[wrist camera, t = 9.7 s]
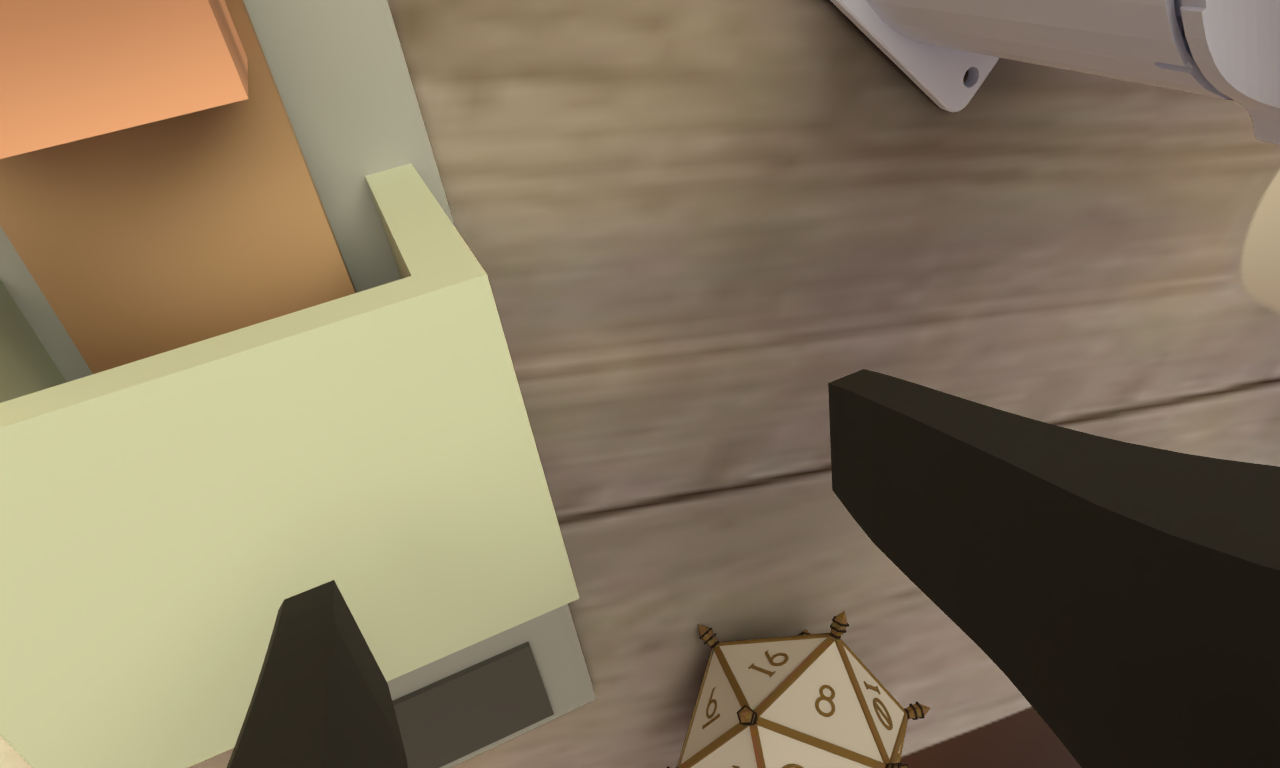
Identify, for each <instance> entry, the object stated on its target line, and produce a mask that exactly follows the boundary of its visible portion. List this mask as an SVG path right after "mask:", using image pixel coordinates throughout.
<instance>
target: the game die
mask: <svg viewBox="0 0 1280 768" xmlns="http://www.w3.org/2000/svg"><path fill="white" fill-rule="evenodd" d="M832 621H833V623H832V624H831V625H830V627H831V633H823V634H810V633H809V632H808V631H807V630H805V631H804V632H802V633H801V634H799V635H798V636H787V637H775V638H764V639H752V640H740V641H728V642H719V641H717V638H716V636H715V635H716V633H715V634H714V633H713V631H712V630H711V629H712V628H707V627H704V626H701V625H698V627H699V632H700V639H702V640H703V641H704V642H705V643H704V644H707V645H709V646H710V647H711V653H710V656H709V659H708V663H707V666H706V670H705V673H704V676H703V680H702V683H701V687H700V690H699V694H698V697H697V700H696V704H695V707H694V711H693V714H692V718H691V721H690V724H689V728H688V731H687V735H686V738H685V741H684V745H683V748H682V752H681V755H680V759H679V762H678V765H677V767H676V768H908V764H901V763H900V758H901V753H902V748H903V742H904V737H905V732H906V727H907V722H908V719H910V718H912V719H913V720H917V719H918V718H924V716H925V714H926V713H927V712H928V711H929V709H930V708H929V707H926V706H923V705H921V704H919V703H918V702H916V704H914V705H912V704H910V705H909V707H908V708H906V709H903V708H902V706H901V705H900V704H899V703H898V702H897V701H896V700H895V699H894V698H893V696H892V695H891V694H890V693H889V692H888V691H887V690H886V689H885V688H884V686H883V685H882V684H881V683H880V682H879V681H878V680H877V679H876V678H875V676H874V675H873V674H872V673H871V672H870V671H869V670H868V669H867V668H866V666H865V665H864V664H863V663H862V662H861V661H860V660H859V659H858V658H857V657H856V655H855V654H854V653H853V652H852V651H851V650H850V649H849V648H848V647H847V645H846V644H845V643H844V642H843V641H842V640H841V639H840V638H841V635H842V634H843V633H846V630H845V629H846V627H847V626H848V627H849V624H848V623H847V620H846V616H845V611H843V612H842V613H841V614H839V615H838V616H836V617H835V616H834V618H833V619H832ZM667 768H669V767H667Z"/></svg>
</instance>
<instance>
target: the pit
mask: <svg viewBox="0 0 1280 768" xmlns="http://www.w3.org/2000/svg"><path fill="white" fill-rule="evenodd" d="M392 702H393V706H394V709H395V713H396V717H397V721H398V725H399V729H400V733H401V737H402V741H403V745H404V749H405V753H406V757H407V765H408V768H440V767H442V766H444V765H447V764H449V763H451V762H453V761H455V760H457V759H460V758H462V757H464V756H466V755H468V754H470V753H472V752H475V751H477V750H479V749H481V748H483V747H485V746H487V745H490V744H492V743H494V742H496V741H498V740H500V739H502V738H505V737H507V736H509V735H511V734H513V733H515V732H517V731H520V730H522V729H524V728H526V727H528V726H530V725H533V724H535V723H537V722H539V721H541V720H543V719H545V718H548V717H550V716H552V715H554V712H553V710H552V707H551V704H550V701H549V698H548V695H547V693H546V690H545V687H544V684H543V681H542V678H541V675H540V673H539V670H538V667H537V664H536V661H535V658H534V655H533V653H532V650H531V647H530V644H529V642H525V643H523V644H521V645H518V646H516V647H514V648H512V649H509V650H507V651H505V652H503V653H500V654H498V655H496V656H493V657H491V658H489V659H487V660H484V661H482V662H480V663H477V664H475V665H473V666H471V667H468V668H466V669H464V670H461V671H459V672H457V673H455V674H452V675H450V676H448V677H445V678H443V679H441V680H439V681H436V682H434V683H432V684H430V685H427V686H425V687H423V688H420V689H418V690H416V691H414V692H411V693H409V694H407V695H404V696H402V697H400V698H398V699H395V700H393V701H392Z"/></svg>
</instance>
